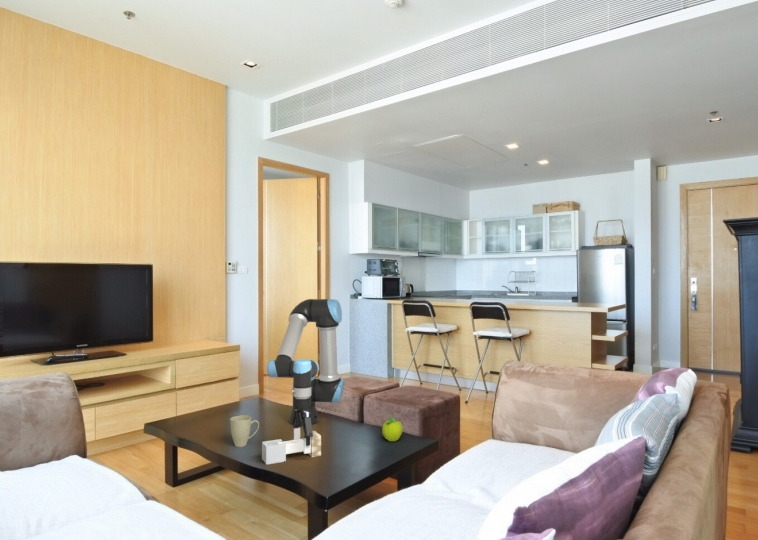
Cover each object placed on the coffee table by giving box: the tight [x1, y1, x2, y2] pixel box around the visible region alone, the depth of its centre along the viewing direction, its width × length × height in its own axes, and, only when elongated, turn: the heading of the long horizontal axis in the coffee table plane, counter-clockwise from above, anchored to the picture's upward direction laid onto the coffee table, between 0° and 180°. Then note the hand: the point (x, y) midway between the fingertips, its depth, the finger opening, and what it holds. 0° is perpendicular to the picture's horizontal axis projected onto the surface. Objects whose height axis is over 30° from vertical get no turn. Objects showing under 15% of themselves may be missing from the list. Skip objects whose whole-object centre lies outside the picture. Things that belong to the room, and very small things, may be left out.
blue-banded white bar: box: [277, 437, 304, 455], centre depth 203 cm, size 15×4×4 cm, turn 118°
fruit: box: [381, 417, 404, 442], centre depth 224 cm, size 9×9×10 cm
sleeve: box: [261, 438, 287, 465], centre depth 199 cm, size 8×7×7 cm
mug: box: [229, 414, 260, 448], centre depth 218 cm, size 11×10×12 cm
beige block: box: [307, 430, 322, 458], centre depth 207 cm, size 4×8×8 cm, turn 28°
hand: (301, 448), depth 204 cm, fingers open, 13 cm apart
